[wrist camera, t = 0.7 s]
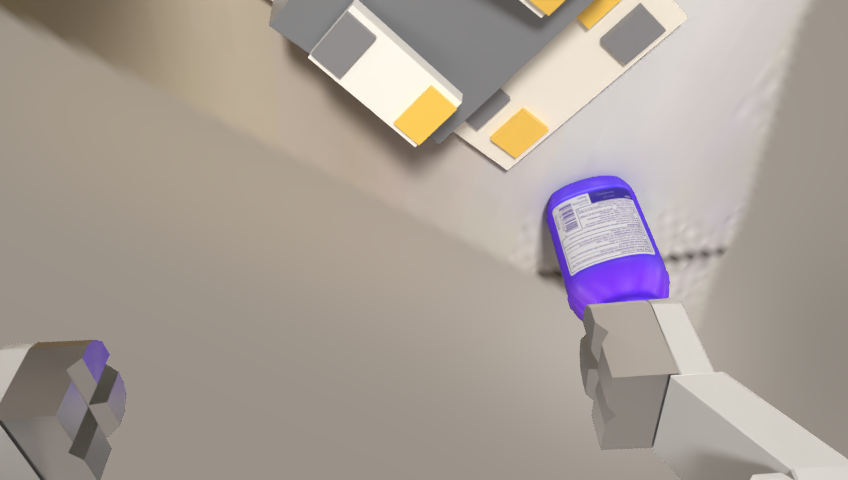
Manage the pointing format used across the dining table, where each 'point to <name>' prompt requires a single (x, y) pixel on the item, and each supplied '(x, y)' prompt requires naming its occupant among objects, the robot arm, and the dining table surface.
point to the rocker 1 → (386, 74)
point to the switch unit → (506, 56)
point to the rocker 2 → (542, 6)
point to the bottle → (604, 244)
